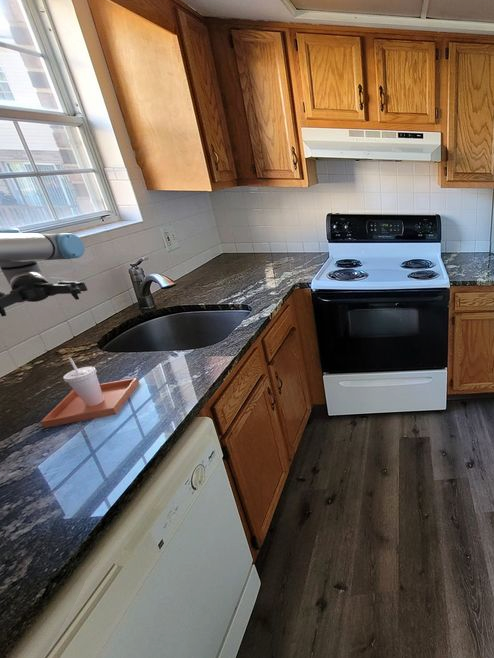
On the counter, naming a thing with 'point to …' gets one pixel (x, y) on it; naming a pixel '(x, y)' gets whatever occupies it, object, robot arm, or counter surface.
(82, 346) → the counter surface
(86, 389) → the smoothie
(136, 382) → the tray
